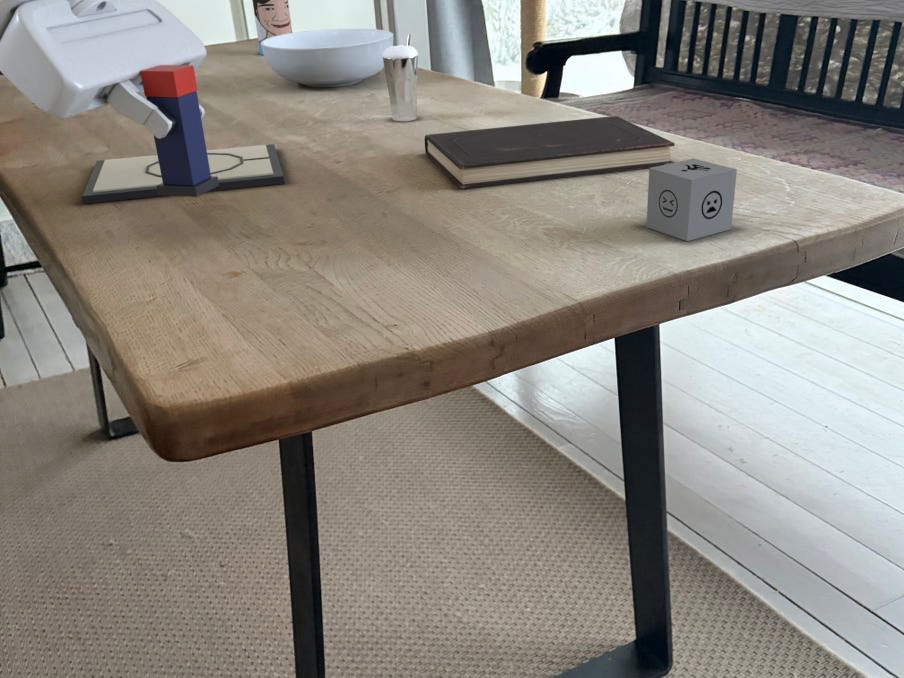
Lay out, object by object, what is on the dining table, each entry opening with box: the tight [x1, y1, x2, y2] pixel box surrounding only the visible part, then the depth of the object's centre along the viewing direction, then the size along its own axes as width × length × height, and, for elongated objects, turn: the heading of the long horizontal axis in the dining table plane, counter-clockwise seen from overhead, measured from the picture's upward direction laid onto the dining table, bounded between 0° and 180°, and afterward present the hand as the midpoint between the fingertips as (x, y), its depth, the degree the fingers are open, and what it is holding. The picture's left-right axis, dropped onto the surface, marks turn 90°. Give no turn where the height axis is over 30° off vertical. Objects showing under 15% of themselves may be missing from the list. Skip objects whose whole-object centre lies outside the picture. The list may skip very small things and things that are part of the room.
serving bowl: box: [261, 28, 394, 88], centre depth 152 cm, size 21×21×7 cm
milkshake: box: [382, 33, 419, 122], centre depth 124 cm, size 5×5×10 cm
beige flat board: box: [81, 143, 285, 205], centre depth 104 cm, size 20×16×1 cm
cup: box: [252, 0, 293, 56], centre depth 184 cm, size 7×7×15 cm
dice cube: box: [645, 158, 738, 242], centre depth 80 cm, size 5×5×5 cm
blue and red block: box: [140, 65, 219, 198], centre depth 81 cm, size 4×4×10 cm
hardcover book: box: [424, 115, 675, 190], centre depth 103 cm, size 16×23×2 cm
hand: (183, 126), depth 80 cm, fingers closed on blue and red block, 3 cm apart
